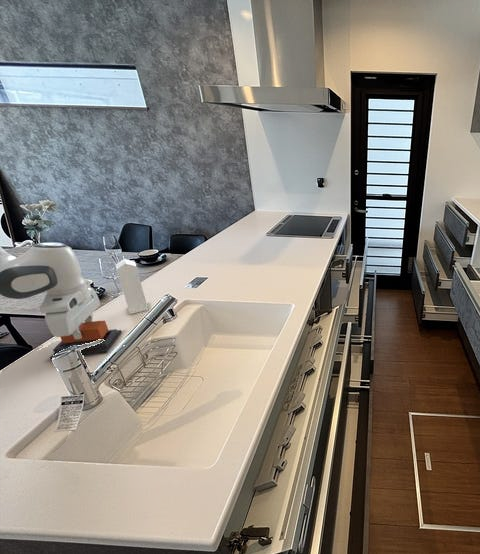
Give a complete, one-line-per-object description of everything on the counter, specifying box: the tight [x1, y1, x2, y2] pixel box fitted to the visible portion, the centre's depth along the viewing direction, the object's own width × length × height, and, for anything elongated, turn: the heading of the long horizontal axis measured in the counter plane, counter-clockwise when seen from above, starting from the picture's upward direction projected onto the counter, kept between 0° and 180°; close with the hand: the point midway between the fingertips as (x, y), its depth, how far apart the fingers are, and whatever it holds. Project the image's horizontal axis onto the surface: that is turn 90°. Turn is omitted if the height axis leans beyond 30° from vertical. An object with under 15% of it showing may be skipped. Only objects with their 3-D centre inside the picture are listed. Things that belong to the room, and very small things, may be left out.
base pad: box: [49, 328, 122, 361], centre depth 99 cm, size 14×12×2 cm
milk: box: [115, 255, 149, 315], centre depth 117 cm, size 6×6×22 cm
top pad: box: [59, 319, 110, 343], centre depth 97 cm, size 10×5×4 cm, turn 108°
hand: (84, 332), depth 97 cm, fingers closed on top pad, 5 cm apart
